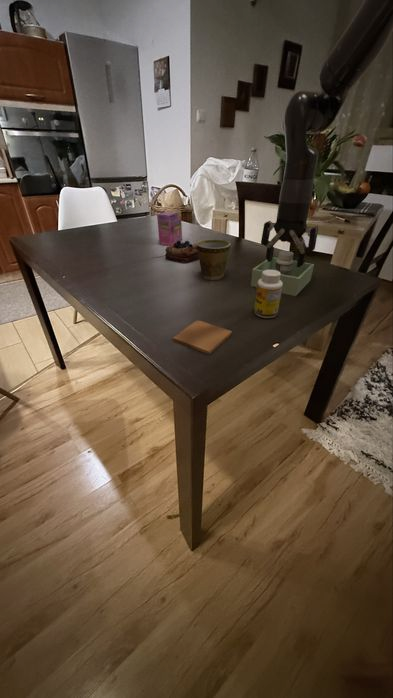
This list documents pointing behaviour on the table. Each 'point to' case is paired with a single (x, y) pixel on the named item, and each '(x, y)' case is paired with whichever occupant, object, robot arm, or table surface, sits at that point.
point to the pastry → (182, 252)
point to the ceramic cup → (213, 257)
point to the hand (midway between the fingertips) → (283, 263)
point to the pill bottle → (284, 263)
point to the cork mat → (202, 336)
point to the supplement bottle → (268, 294)
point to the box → (169, 227)
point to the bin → (290, 283)
